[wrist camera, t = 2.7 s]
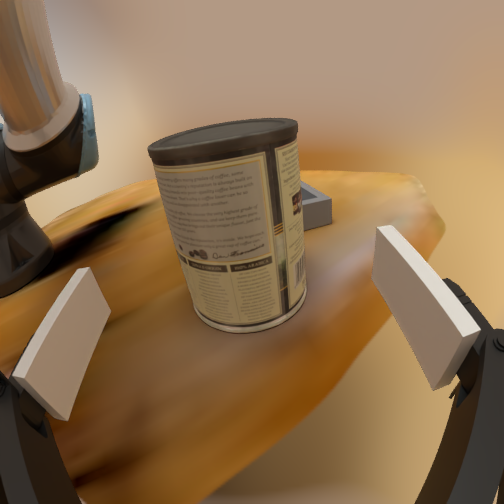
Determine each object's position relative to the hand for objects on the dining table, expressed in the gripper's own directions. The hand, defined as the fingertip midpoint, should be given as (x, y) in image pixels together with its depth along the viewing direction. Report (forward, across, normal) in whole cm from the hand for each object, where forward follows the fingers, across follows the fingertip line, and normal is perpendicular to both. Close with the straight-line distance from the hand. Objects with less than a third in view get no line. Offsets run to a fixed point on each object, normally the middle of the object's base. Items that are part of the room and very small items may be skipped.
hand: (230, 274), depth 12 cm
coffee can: (+10, 0, -9) cm, 14 cm away
